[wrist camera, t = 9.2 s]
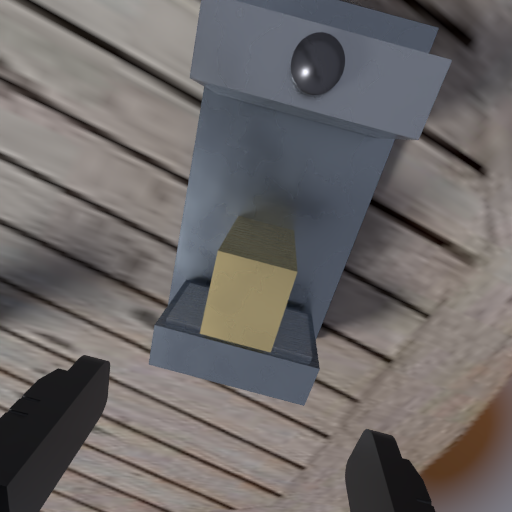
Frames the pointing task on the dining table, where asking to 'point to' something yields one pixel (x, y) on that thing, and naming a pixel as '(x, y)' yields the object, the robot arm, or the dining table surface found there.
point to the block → (251, 284)
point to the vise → (275, 214)
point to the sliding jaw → (315, 70)
